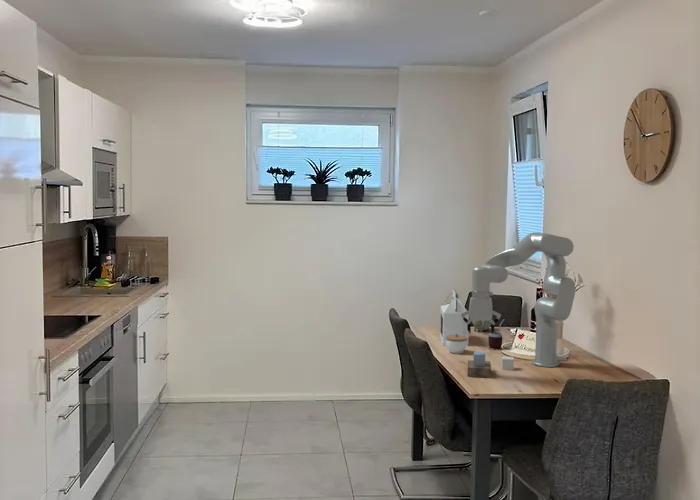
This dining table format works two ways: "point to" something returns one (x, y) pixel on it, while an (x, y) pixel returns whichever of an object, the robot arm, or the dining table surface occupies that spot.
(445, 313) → the gable box
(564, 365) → the dining table surface
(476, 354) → the slate blue block
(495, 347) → the mate gourd
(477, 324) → the toy sheep
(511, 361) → the cream block
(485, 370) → the walnut base block
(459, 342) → the lidded jar
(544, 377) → the dining table surface
